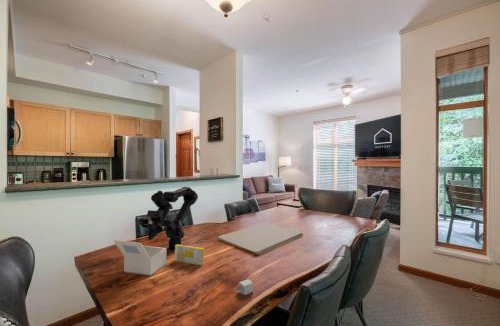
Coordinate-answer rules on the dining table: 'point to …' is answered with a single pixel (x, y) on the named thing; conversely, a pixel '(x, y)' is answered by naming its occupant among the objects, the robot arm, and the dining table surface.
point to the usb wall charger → (245, 287)
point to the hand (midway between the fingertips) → (149, 239)
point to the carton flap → (132, 249)
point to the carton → (146, 262)
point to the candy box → (189, 254)
